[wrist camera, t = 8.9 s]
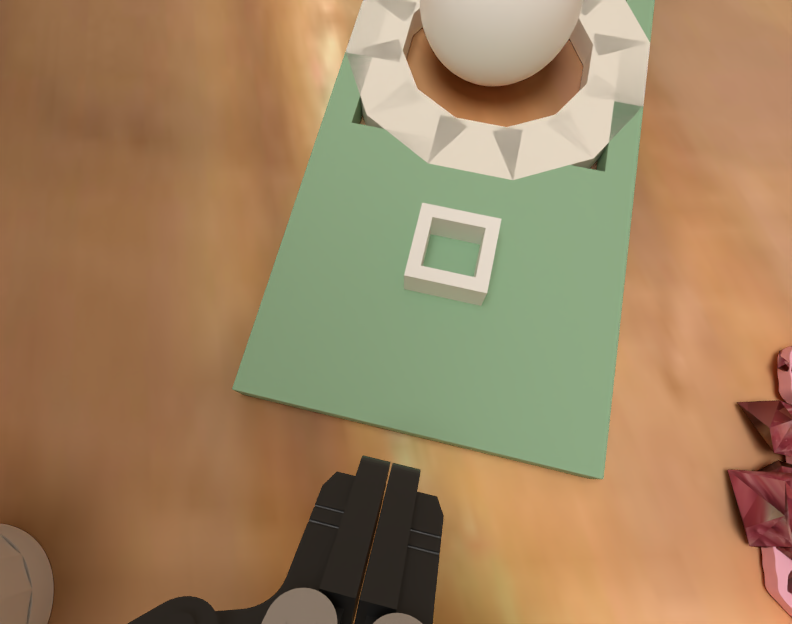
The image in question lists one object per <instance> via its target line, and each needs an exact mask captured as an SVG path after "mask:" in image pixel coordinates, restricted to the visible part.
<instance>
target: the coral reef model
mask: <svg viewBox="0 0 792 624" xmlns="http://www.w3.org/2000/svg"><path fill="white" fill-rule="evenodd" d="M778 379H779V393H780V395H781V396H782V398H783V399H784V400H785V401H786V402H787V403H786V402H783V401H780V400H776V401H756V402H737V403H738V404H739V406H740V407H741V408H742V410H743V411H744V413H745V414H746V415H747V417H748V418H749V419H750V421H751V422H752V423H753V425H754V426H755V427H756V429H757V430H758V432H759V433H760V434H761V436H762V437H763V438H764V440H765V441H766V442H767V444H768V445H769V446H770V448H771V449H772V451H773V452H774V453H777V454H782V455H786V462H782V461H779V460H778V461H776V462H774V463H772V464H770V465H768V466H766V467H764V468H763V469H761V470H759V471H745V470H728V473H729V477H730V480H731V484H732V487H733V491H734V494H735V498H736V501H737V505H738V508H739V512H740V515H741V518H742V522H743V525H744V529H745V532H746V536H747V539H748V543H749V546H754V547H761V550H762V556H763V561H762V564H763V569H764V574H765V587H766V589H767V591H768V592H769V594H770V595H771V596H772V597H773V598H774V599H775V600H776V601H777V602H778V603H779V604H780V605H781V606H782V607H783V608H784V609H785V610H786V612H787V613H788V614H789V615H790V616H791V617H792V346H790V347H787V348H785V349H783V350H780V352H779V355H778Z"/></svg>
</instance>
